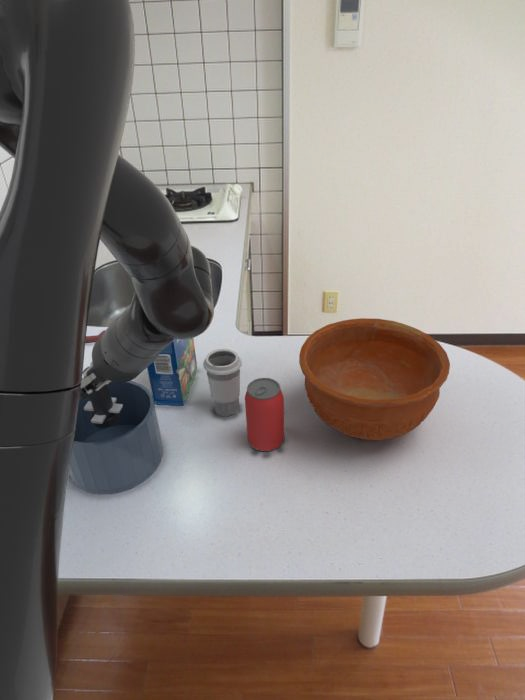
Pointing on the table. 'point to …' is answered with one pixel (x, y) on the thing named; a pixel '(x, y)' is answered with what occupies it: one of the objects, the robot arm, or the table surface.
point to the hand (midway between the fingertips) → (90, 387)
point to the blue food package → (173, 372)
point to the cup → (224, 380)
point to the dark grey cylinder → (103, 408)
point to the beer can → (264, 414)
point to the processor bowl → (117, 443)
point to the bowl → (373, 376)
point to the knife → (93, 337)
